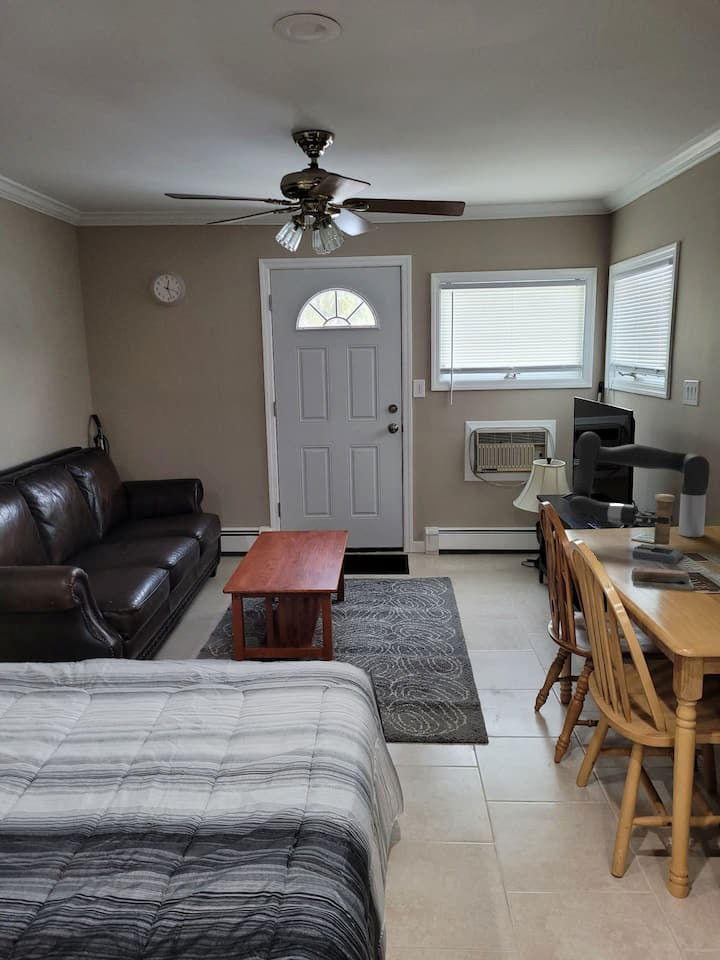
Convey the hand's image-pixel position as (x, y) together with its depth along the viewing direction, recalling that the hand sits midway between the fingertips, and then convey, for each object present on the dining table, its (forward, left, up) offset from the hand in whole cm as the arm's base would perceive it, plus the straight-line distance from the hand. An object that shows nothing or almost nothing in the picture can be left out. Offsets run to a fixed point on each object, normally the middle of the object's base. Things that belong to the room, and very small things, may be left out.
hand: (670, 519), depth 245 cm
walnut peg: (0, -3, -9) cm, 9 cm away
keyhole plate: (0, -4, -14) cm, 15 cm away
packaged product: (+30, +5, -15) cm, 34 cm away
